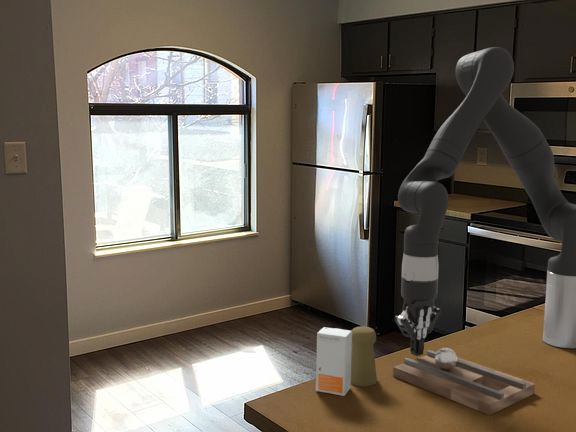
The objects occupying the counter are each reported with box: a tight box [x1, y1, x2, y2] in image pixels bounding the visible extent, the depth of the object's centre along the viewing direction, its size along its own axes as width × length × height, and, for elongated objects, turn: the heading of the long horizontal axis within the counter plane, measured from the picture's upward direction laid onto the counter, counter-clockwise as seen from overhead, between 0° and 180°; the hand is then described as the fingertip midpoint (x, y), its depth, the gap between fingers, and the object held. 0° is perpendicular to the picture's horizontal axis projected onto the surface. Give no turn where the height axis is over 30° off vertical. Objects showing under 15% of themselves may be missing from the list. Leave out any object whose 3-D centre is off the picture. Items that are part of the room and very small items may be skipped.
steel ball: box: [435, 347, 458, 370], centre depth 133 cm, size 4×4×4 cm
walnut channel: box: [392, 349, 536, 416], centre depth 131 cm, size 15×23×3 cm, turn 39°
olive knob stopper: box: [351, 325, 378, 387], centre depth 132 cm, size 6×6×11 cm
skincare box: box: [315, 326, 353, 397], centre depth 127 cm, size 6×4×12 cm
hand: (416, 354), depth 139 cm, fingers closed
